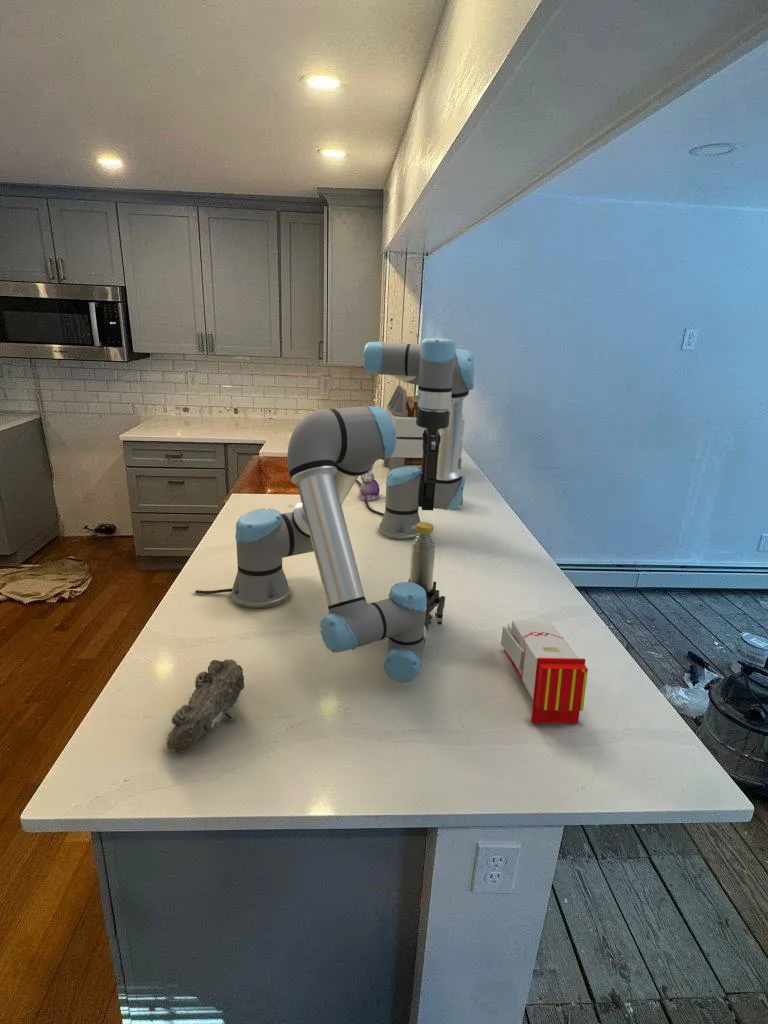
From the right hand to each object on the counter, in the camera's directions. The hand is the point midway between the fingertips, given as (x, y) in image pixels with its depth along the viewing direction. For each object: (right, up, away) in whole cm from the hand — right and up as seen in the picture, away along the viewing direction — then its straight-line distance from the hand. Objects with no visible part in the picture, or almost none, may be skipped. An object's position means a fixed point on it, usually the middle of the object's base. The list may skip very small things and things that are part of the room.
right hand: (426, 504), depth 137 cm
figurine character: (+18, +1, +95) cm, 97 cm away
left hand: (0, -21, +13) cm, 25 cm away
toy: (+23, -38, -14) cm, 47 cm away
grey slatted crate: (+7, +17, +138) cm, 139 cm away
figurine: (-16, +4, +99) cm, 101 cm away
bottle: (-1, -29, +10) cm, 31 cm away
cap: (0, -5, +2) cm, 6 cm away
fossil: (-43, -41, -29) cm, 66 cm away
